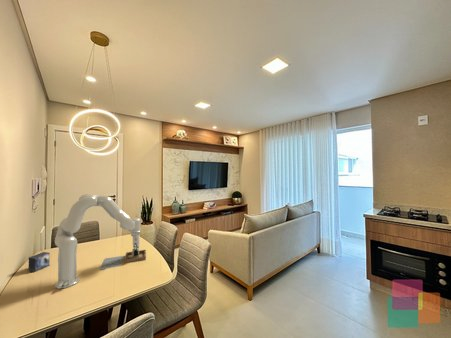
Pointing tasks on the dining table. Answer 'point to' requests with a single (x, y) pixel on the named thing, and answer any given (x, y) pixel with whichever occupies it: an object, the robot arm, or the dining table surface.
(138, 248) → the sage block
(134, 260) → the walnut bin
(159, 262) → the dining table surface
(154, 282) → the dining table surface
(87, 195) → the robot arm
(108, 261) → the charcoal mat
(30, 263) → the small box
